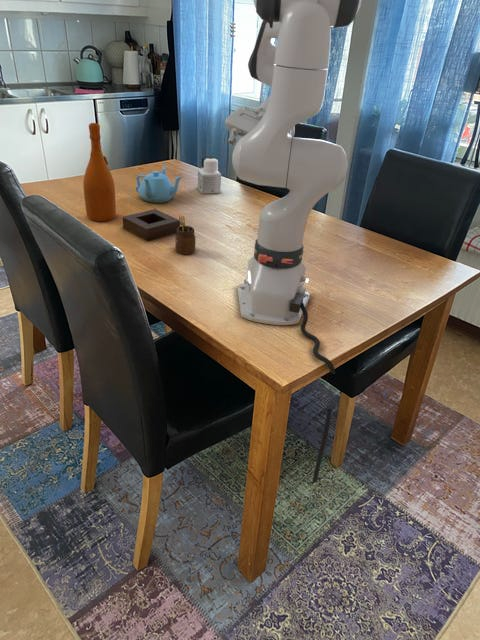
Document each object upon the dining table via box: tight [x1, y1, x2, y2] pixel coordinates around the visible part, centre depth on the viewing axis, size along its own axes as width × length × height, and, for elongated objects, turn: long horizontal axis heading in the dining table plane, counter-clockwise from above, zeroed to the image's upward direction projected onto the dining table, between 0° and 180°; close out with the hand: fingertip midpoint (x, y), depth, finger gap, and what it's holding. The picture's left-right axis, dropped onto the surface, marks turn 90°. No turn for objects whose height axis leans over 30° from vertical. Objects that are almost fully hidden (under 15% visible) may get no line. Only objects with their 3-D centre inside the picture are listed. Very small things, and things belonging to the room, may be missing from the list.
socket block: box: [122, 208, 181, 242], centre depth 157 cm, size 13×13×4 cm
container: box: [197, 156, 222, 194], centre depth 195 cm, size 8×8×13 cm
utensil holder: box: [174, 213, 196, 255], centre depth 143 cm, size 6×6×12 cm
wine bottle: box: [82, 122, 117, 222], centre depth 157 cm, size 10×10×30 cm
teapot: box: [135, 165, 183, 204], centre depth 183 cm, size 15×15×10 cm
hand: (243, 148), depth 140 cm, fingers open, 8 cm apart
